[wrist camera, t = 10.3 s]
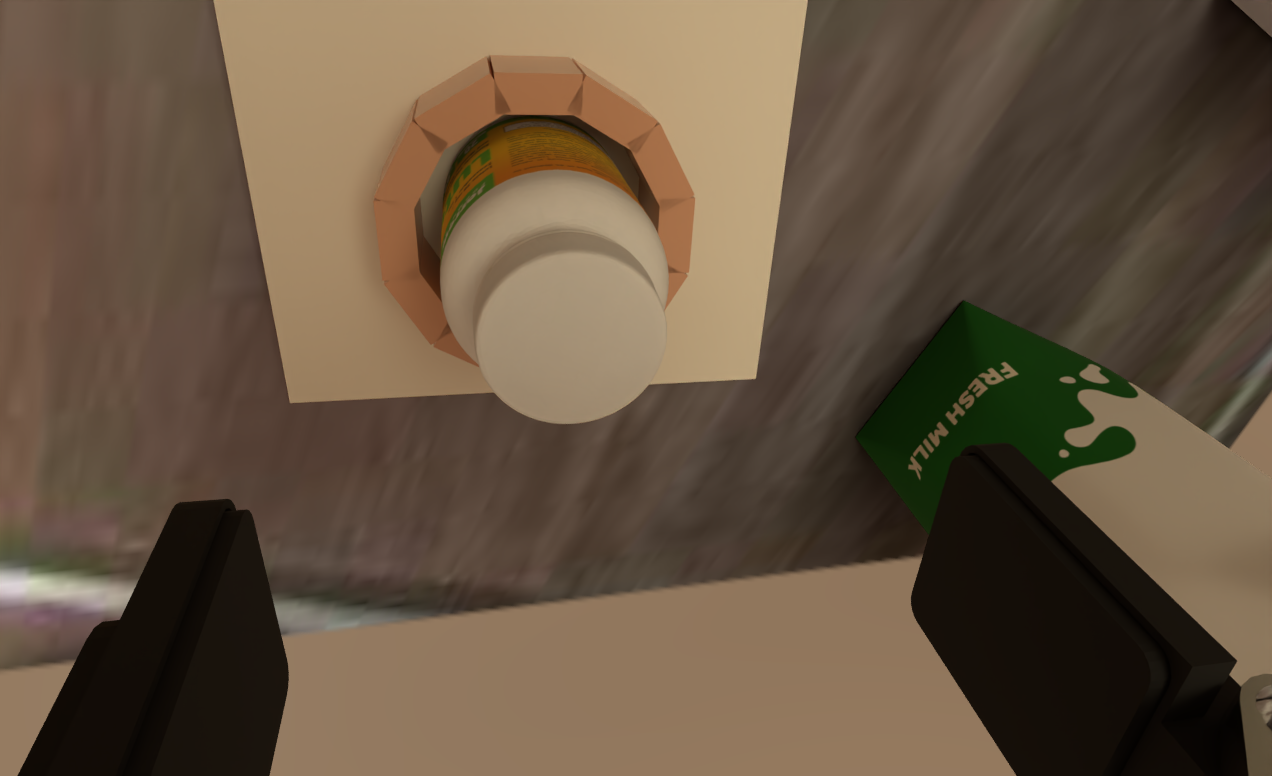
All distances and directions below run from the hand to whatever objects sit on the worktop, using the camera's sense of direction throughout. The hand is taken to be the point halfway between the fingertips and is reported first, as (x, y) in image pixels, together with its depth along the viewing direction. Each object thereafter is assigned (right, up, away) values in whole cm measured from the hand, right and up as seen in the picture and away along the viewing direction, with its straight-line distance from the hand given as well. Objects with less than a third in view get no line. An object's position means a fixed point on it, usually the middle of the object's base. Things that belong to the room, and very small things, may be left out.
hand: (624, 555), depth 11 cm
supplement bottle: (-3, +8, +14) cm, 16 cm away
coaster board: (-3, +9, +15) cm, 18 cm away
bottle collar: (-3, +8, +14) cm, 16 cm away
